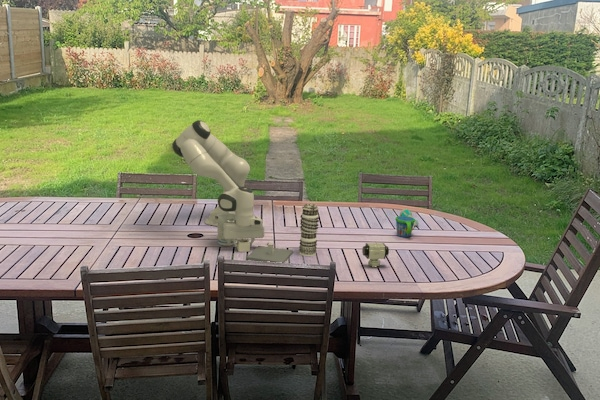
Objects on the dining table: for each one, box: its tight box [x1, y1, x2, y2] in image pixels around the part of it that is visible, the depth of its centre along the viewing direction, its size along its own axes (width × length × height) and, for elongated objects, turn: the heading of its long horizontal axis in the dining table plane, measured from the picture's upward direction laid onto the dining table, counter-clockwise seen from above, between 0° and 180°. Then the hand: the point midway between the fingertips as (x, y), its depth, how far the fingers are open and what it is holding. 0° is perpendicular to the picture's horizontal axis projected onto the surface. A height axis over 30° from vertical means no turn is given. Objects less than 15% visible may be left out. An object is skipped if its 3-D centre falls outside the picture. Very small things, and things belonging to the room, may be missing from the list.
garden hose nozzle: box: [399, 208, 419, 231], centre depth 360 cm, size 7×18×20 cm
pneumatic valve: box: [361, 242, 390, 268], centre depth 286 cm, size 6×12×12 cm, turn 99°
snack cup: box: [395, 215, 416, 238], centre depth 336 cm, size 16×10×10 cm
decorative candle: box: [298, 203, 320, 257], centre depth 297 cm, size 9×9×25 cm
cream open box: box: [236, 239, 251, 253], centre depth 299 cm, size 6×6×5 cm
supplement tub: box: [217, 213, 237, 247], centre depth 306 cm, size 10×10×15 cm
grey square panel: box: [246, 242, 294, 264], centre depth 292 cm, size 18×18×6 cm
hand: (243, 246), depth 299 cm, fingers closed on cream open box, 6 cm apart
